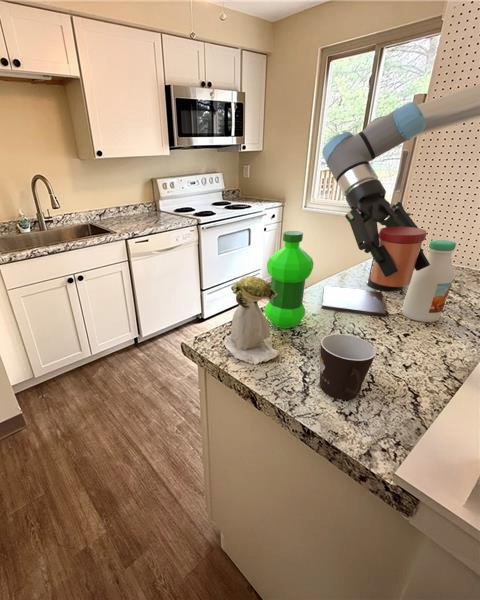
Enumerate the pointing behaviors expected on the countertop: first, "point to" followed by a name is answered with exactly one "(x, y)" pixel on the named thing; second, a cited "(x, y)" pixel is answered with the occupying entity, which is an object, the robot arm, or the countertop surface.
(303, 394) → the countertop surface
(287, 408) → the countertop surface
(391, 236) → the lid
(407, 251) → the jar
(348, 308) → the board
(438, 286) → the milk bottle
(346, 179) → the robot arm
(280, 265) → the plastic bottle
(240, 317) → the turtle figurine
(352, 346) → the coffee mug
